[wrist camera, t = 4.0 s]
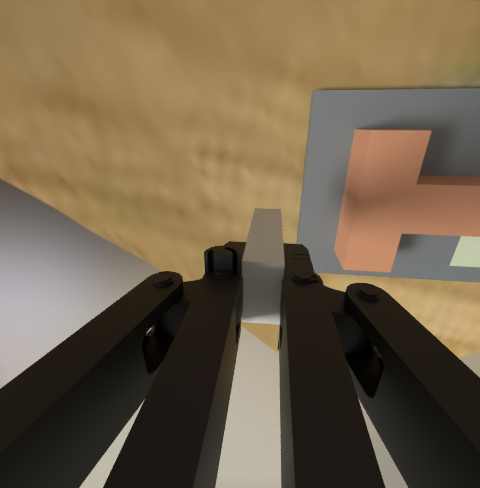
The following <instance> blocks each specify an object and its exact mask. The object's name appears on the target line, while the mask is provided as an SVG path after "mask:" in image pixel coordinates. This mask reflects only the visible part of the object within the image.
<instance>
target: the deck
mask: <svg viewBox="0 0 480 488" xmlns="http://www.w3.org/2000/svg"><path fill="white" fill-rule="evenodd" d="M355 129H414V130H432V132H431V135H430V138H429V142H428V145H427V149H426V152H425V156H424V159H423V162H422V166H421V169H420V173H419V175H432V176H478V177H480V88H455V89H381V90H314V91H313V92H312V99H311V108H310V118H309V128H308V137H307V147H306V157H305V166H304V176H303V186H302V195H301V205H300V215H299V224H298V234H297V244H303V245H304V246H305V247H306V248H307V249H308V251H309V254H310V258H311V262H312V265H313V269H314V273H330V274H347V275H364V276H381V277H397V278H414V279H431V280H448V281H465V282H480V237H472V236H448V235H425V234H402V235H401V238H400V241H399V245H398V248H397V252H396V255H395V259H394V262H393V265H392V269H391V272H374V271H356V270H343V268H342V266H341V264H340V262H339V260H338V257H337V255H336V253H335V251H334V246H335V241H336V235H337V229H338V223H339V218H340V212H341V206H342V200H343V195H344V189H345V183H346V177H347V172H348V166H349V160H350V154H351V149H352V143H353V137H354V131H355Z"/></svg>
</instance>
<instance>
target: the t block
mask: <svg viewBox="0 0 480 488" xmlns="http://www.w3.org/2000/svg"><path fill="white" fill-rule="evenodd" d="M431 132H432V130H414V129H355V131H354V137H353V143H352V149H351V154H350V160H349V166H348V172H347V177H346V183H345V189H344V195H343V200H342V206H341V212H340V218H339V223H338V229H337V235H336V241H335V246H334V251H335V253H336V255H337V257H338V260H339V262H340V264H341V266H342V268H343V270H356V271H374V272H391V269H392V265H393V262H394V259H395V255H396V252H397V248H398V245H399V241H400V238H401V235H402V234H425V235H448V236H472V237H480V177H478V176H432V175H419V173H420V169H421V166H422V162H423V159H424V156H425V152H426V149H427V145H428V142H429V138H430V135H431Z"/></svg>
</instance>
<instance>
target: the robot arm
mask: <svg viewBox="0 0 480 488" xmlns="http://www.w3.org/2000/svg"><path fill="white" fill-rule="evenodd" d="M204 261H205V274H204V276H203V278H202V279H200V280H195V281H188V282H183V278H182V276H181V275H180V274H179V273H176V272H170V271H165V272H164V271H163V272H159V273H156V274H153V275H151V276H150V277H148V278H147V279H145V280H144V281H143V282H141V283H140V284H139V285H137V286H136V287H135V288H133V289H132V290H131V291H129V292H128V293H127V294H125V295H124V296H123V297H121V298H120V299H119V300H117V301H116V302H115V303H113V304H112V305H111V306H109V307H108V308H107V309H105V311H103V312H101V313H100V314H99V315H98V316H96V317H95V318H94V319H92V320H91V321H90V322H88V323H87V324H86V325H84V326H83V327H82V328H80V329H79V330H78V331H76V332H75V333H74V334H73V335H71V336H70V337H68V338H67V339H66V340H64V341H63V342H62V343H60V344H59V345H58V346H56V347H55V348H54V349H53V350H51V351H50V352H49V353H47V354H46V355H45V356H43V357H42V358H41V359H39V360H38V361H37V362H35V363H34V364H33V365H31V366H30V367H29V368H27V369H26V370H25V371H23V372H22V373H21V374H19V375H18V376H17V377H15V378H14V379H13V380H11V381H10V382H9V383H7V384H6V385H5V386H4V387H2V388H1V389H0V488H79V487H80V486H81V484H82V483H83V482H84V480H85V479H86V477H87V476H88V475H89V474H90V472H91V471H92V470H93V468H94V467H95V465H96V464H97V463H98V461H99V460H100V459H101V457H102V456H103V455H104V453H105V452H106V451H107V449H108V448H109V446H110V445H111V444H112V443H113V441H114V440H115V438H116V437H117V436H118V434H119V433H120V432H121V430H122V429H123V428H124V426H125V425H126V424H127V422H128V421H129V420H130V418H131V417H132V416H133V414H134V413H135V411H136V410H137V409H138V408H139V406H140V405H141V403H142V402H143V401H144V403H143V405H142V407H141V409H140V411H139V413H138V415H137V417H136V419H135V421H134V424H133V426H132V428H131V430H130V432H129V434H128V436H127V438H126V440H125V443H124V445H123V447H122V449H121V451H120V453H119V455H118V457H117V459H116V462H115V464H114V466H113V468H112V470H111V472H110V474H109V476H108V478H107V480H106V483H105V485H104V487H103V488H215V484H216V479H217V473H218V466H219V460H220V454H221V448H222V442H223V436H224V430H225V424H226V418H227V412H228V405H229V399H230V393H231V387H232V381H233V375H234V369H235V363H236V357H237V351H238V344H239V338H240V332H241V316H242V322H253V323H264V324H276V325H280V329H279V341H278V350H279V361H280V362H279V363H280V421H281V477H282V478H281V484H282V488H385V485H384V482H383V479H382V475H381V472H380V469H379V466H378V462H377V459H376V456H375V452H374V449H373V446H372V443H371V439H370V436H369V433H368V430H367V426H366V423H365V420H364V417H363V413H362V410H361V406H360V403H359V400H360V401H361V403H362V405H363V407H364V409H365V410H366V412H367V414H368V416H369V418H370V419H371V421H372V423H373V425H374V427H375V428H376V430H377V432H378V434H379V436H380V437H381V439H382V441H383V443H384V444H385V446H386V448H387V450H388V452H389V453H390V455H391V457H392V459H393V461H394V463H395V464H396V466H397V468H398V470H399V471H400V473H401V475H402V476H403V479H404V480H405V482H406V484H407V486H408V488H480V378H479V377H478V376H477V375H476V374H475V373H474V372H473V371H472V370H471V369H470V368H469V367H467V366H466V365H465V364H464V363H463V362H462V361H461V360H460V359H459V358H458V357H457V356H455V355H454V354H453V353H452V352H451V351H450V350H449V349H448V348H447V347H446V346H445V345H444V344H442V343H441V342H440V341H439V340H438V339H437V338H436V337H435V336H434V335H433V334H432V333H430V332H429V331H428V330H427V329H426V328H425V327H424V326H423V325H422V324H421V323H420V322H418V321H417V320H416V319H415V318H414V317H413V316H412V315H411V314H410V313H409V312H408V311H407V310H405V309H404V308H403V307H402V306H401V305H400V304H399V303H398V302H397V301H396V300H395V299H393V298H392V297H391V296H390V295H389V294H388V293H387V292H385V291H384V290H383V289H381V288H379V287H376V286H374V285H372V284H367V283H354V284H350V285H349V286H348V287H347V289H346V292H342V291H338V290H334V289H331V288H329V287H326V286H324V285H323V282H322V279H321V278H320V276H319V275H317V274H316V273H314V269H313V265H312V262H311V258H310V254H309V251H308V249H307V248H306V247H305V246H304V245H303V244H285V243H283V233H282V219H281V209H258V208H255V210H254V214H253V218H252V222H251V226H250V230H249V234H248V239H247V242H231V241H229V242H228V243H226V244H225V245H224V246H215V247H211V248H209V249H207V250H206V251H205V252H204ZM150 328H151V330H150V331H149V332H148V330H149V329H150ZM147 332H148V333H147ZM146 333H147V334H146ZM357 396H358V397H357ZM358 398H359V400H358ZM144 399H145V400H144Z"/></svg>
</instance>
